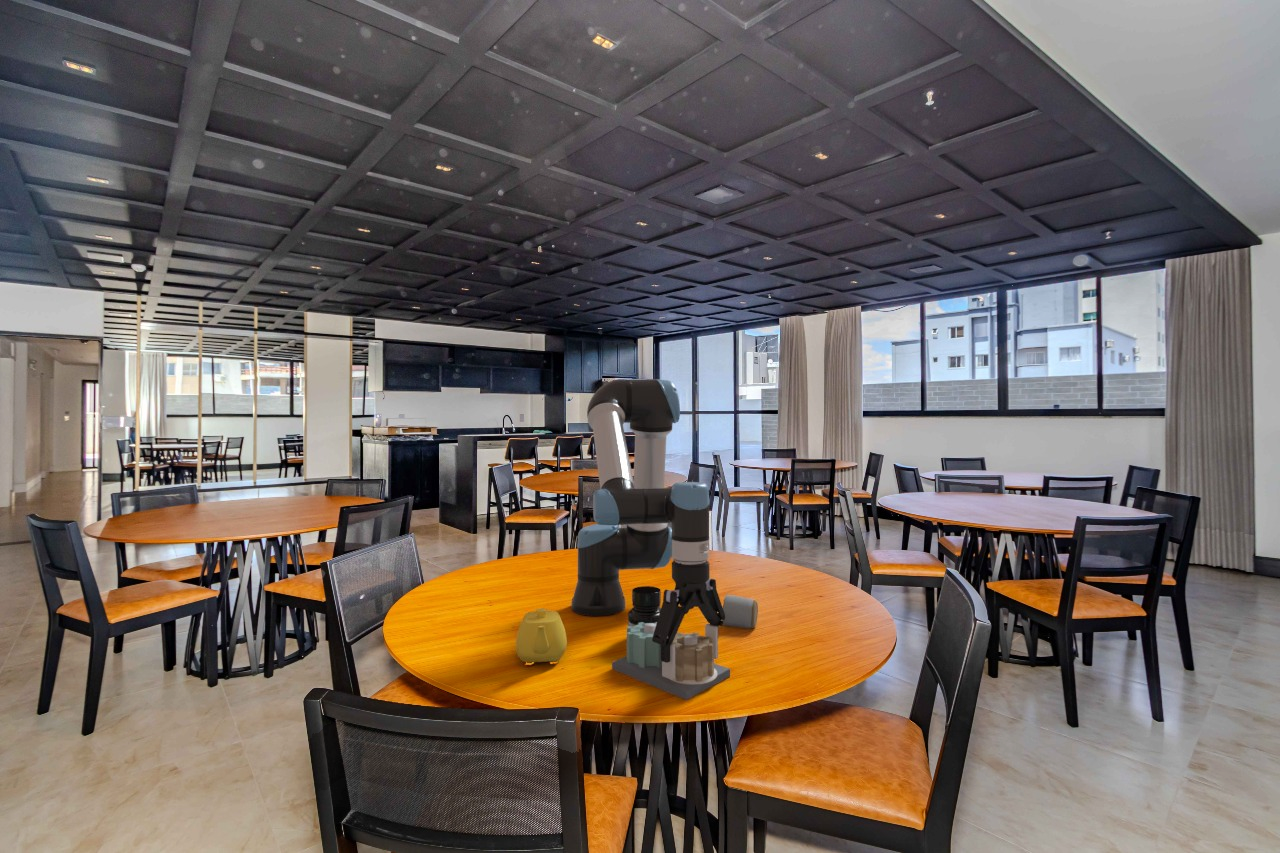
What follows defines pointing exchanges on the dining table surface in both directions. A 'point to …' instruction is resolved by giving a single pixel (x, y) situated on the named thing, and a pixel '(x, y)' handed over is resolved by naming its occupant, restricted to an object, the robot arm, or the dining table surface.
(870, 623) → the dining table surface
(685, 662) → the birch gear
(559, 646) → the teapot
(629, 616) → the ink bottle
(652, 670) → the gear board
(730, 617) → the ceramic mug
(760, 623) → the dining table surface
